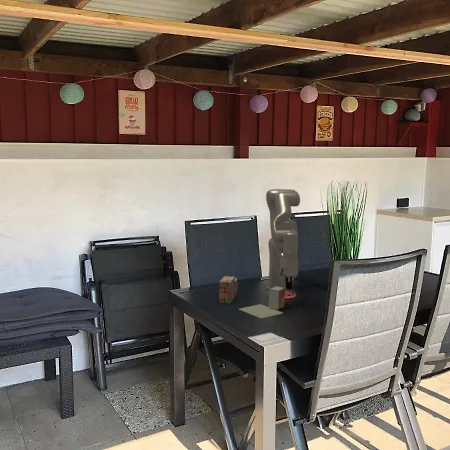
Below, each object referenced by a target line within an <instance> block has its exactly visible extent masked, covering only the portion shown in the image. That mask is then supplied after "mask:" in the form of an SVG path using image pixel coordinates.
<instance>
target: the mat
mask: <svg viewBox="0 0 450 450" xmlns="http://www.w3.org/2000/svg"><path fill="white" fill-rule="evenodd" d="M238 310H239V311H241V312H244V313H246V314H248V315H251V316H252V317H253V316H254V317H256V318H258V319H261V320H262V319H266V318H270V317H274V316H279V315H283V314H284V312H283V311H279V310H276V309H271V308H269V306H266V305H264V304H260V303H259V304H256V305H251V306H245V307H242V308H241V307H240V308H238Z"/></svg>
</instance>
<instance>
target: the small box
mask: <svg viewBox="0 0 450 450" xmlns="http://www.w3.org/2000/svg"><path fill="white" fill-rule="evenodd" d="M285 299H286V290H285V288H284V287H278V286H276V287H274V288H271V289H270V290H269V296H268V307H269V308H271V309H274V310H277V311H279V310H281V309H283V308H285Z"/></svg>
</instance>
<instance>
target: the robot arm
mask: <svg viewBox="0 0 450 450" xmlns="http://www.w3.org/2000/svg"><path fill="white" fill-rule="evenodd" d="M265 199H266V200H265V201H266V204H267V208H268V210H269V226H270V235H271V237H270V239H268V242H267V243H268V253H269V264H268V265H269V266H268V267H269V268H268V269H269V271H268V285H266V286H265V289H266V290H267V291H270V289H271V288H274V287H276V286H278V287H284V288H285V291H287V290H292V289H293V282H294V279H296V278H297V277H298V274H299V260H298V259H299V258H298V254H299V253H298V248H299V234H298V224H297V221H296V220H295V219H293V218H292V215H293V213H292V207H296V208H297V207H299V205H300V203H301V198H300V194H299V192H297V191H296V189H295V190H294V189H291V188H289V189H288V188H287V189H286V188H285V189H283V188H282V189H281V188H279V189H278V188H277V189H276V188H274V189H269V190H267V191H266V194H265Z"/></svg>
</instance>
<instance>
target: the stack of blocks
mask: <svg viewBox="0 0 450 450" xmlns="http://www.w3.org/2000/svg"><path fill="white" fill-rule="evenodd" d="M238 279H239V278H238V277H235V276H229V275H228V276H227V275H224V276H223V277H222V278H221V279H220V280H219V287H218V289H219V291H218V293H219V294H218V295H219V297H218V303H219V304H228V305H230V304H231V303H232V302H233V301H234V299H235V297H236V296H237V294H238V290H239V289H238V288H239V287H238V286H239V285H238V284H239V283H238Z"/></svg>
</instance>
